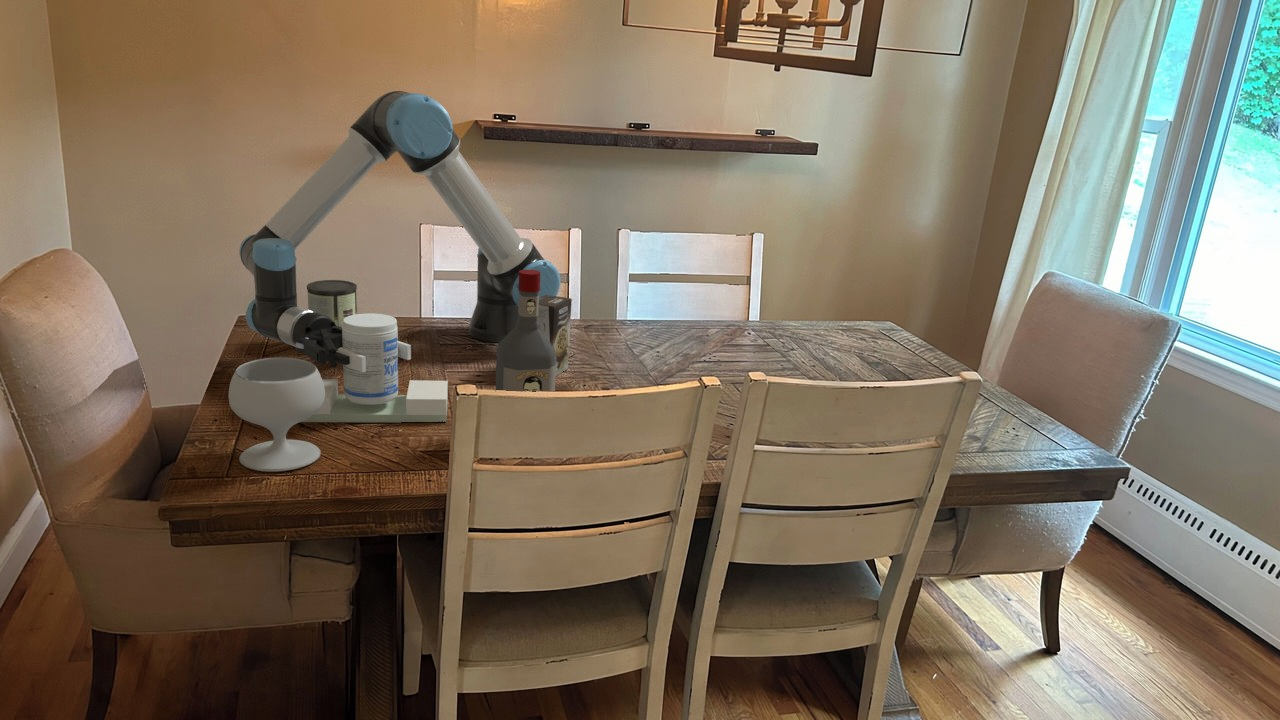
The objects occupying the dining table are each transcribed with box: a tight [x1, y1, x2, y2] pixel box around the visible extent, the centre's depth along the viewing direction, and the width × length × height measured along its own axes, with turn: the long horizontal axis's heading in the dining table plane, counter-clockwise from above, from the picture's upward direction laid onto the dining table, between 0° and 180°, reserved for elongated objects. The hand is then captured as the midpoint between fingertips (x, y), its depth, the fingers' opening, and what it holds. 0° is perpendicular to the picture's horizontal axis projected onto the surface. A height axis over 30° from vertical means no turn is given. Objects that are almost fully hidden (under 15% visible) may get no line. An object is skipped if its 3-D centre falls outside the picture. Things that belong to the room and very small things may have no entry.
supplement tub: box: [342, 312, 399, 405], centre depth 161 cm, size 10×10×15 cm
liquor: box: [495, 270, 557, 392], centre depth 154 cm, size 9×9×30 cm
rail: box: [300, 378, 449, 423], centre depth 163 cm, size 27×10×4 cm, turn 100°
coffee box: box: [538, 295, 573, 377], centre depth 191 cm, size 9×6×16 cm
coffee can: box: [306, 279, 358, 352], centre depth 196 cm, size 10×10×14 cm
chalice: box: [227, 357, 325, 473], centre depth 141 cm, size 14×14×15 cm
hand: (387, 358), depth 158 cm, fingers closed on supplement tub, 9 cm apart
